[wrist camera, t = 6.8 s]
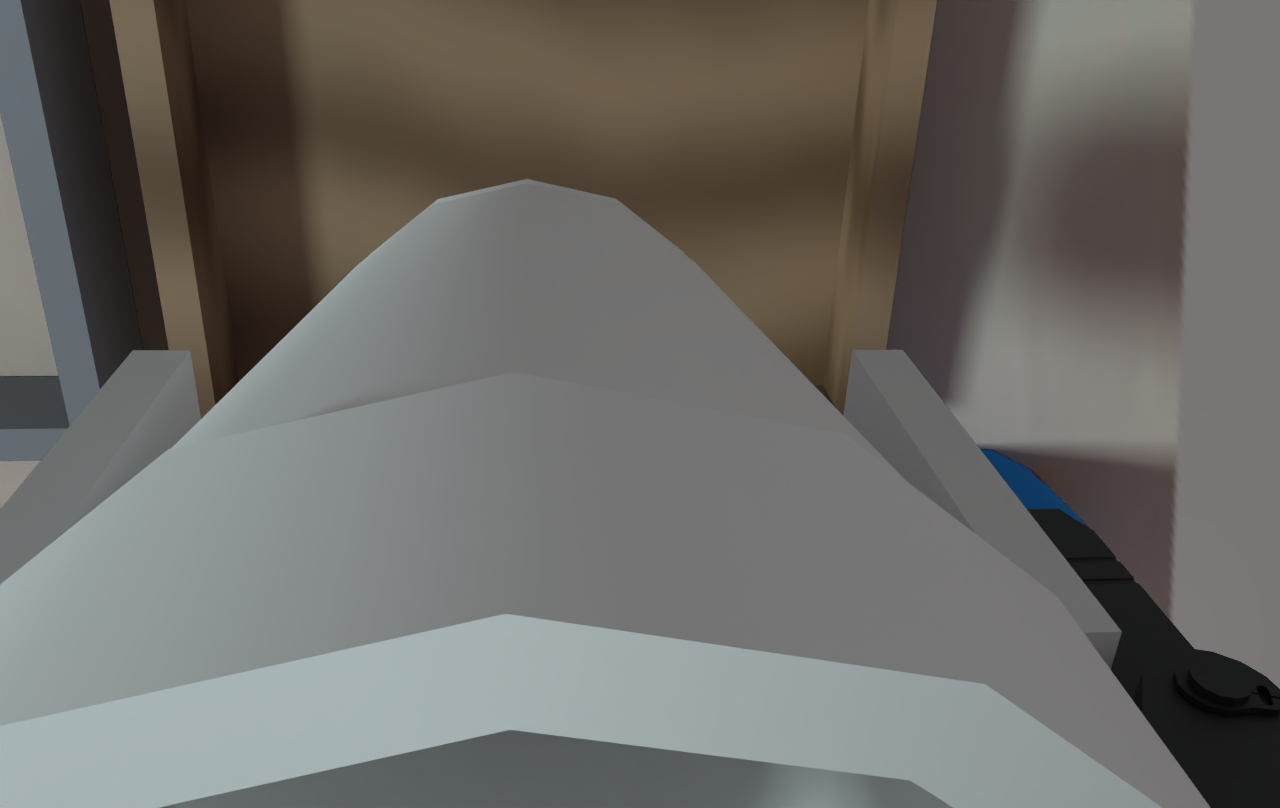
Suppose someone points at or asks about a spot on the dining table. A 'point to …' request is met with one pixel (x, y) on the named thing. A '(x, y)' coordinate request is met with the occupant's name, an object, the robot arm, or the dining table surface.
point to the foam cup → (544, 571)
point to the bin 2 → (524, 147)
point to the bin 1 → (61, 221)
